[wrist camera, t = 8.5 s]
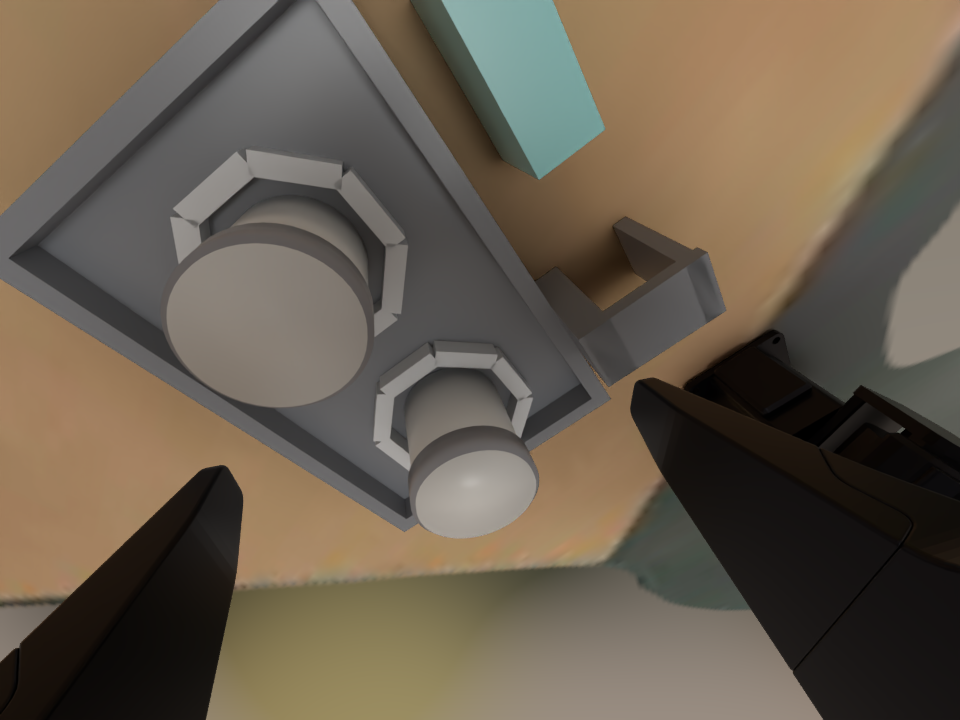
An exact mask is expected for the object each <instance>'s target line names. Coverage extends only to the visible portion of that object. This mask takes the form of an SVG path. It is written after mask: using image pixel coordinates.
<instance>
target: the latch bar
mask: <svg viewBox="0 0 960 720" xmlns="http://www.w3.org/2000/svg"><path fill="white" fill-rule="evenodd" d="M410 1H411V3H412V4H413V6H414V8H415V10H416V11H417V13H418V15H419V16H420V18H421V20H422V22H423V23H424V25H425V27H426V29H427V30H428V32H429V34H430V35H431V37H432V39H433V41H434V42H435V44H436V46H437V47H438V49H439V51H440V53H441V54H442V56H443V58H444V60H445V61H446V63H447V65H448V66H449V68H450V70H451V72H452V73H453V75H454V77H455V78H456V80H457V82H458V84H459V85H460V87H461V89H462V91H463V92H464V94H465V96H466V97H467V99H468V101H469V103H470V104H471V106H472V108H473V109H474V111H475V113H476V115H477V116H478V118H479V120H480V122H481V123H482V125H483V127H484V128H485V130H486V132H487V134H488V135H489V137H490V139H491V141H492V142H493V144H494V146H495V147H496V149H497V151H498V153H499V154H500V156H501V158H502V159H503V161H505V162H507V163H509V164H511V165H512V166H514V167H516V168H518V169H520V170H522V171H524V172H525V173H527V174H529V175H531V176H533V177H535V178H536V179H538V180H540V179H541V178H542V177H544V176H545V175H546V174H548V173H549V172H550V171H551V170H553V169H554V168H555V167H557V166H558V165H559V164H561V163H562V162H563V161H565V160H566V159H567V158H569V157H570V156H571V155H572V154H574V153H575V152H576V151H578V150H579V149H580V148H582V147H583V146H584V145H586V144H587V143H588V142H589V141H591V140H592V139H593V138H595V137H596V136H597V135H599V134H600V133H601V132H603V131H604V130H605V127H604V124H603V122H602V119H601V117H600V115H599V112H598V110H597V107H596V105H595V102H594V100H593V98H592V95H591V93H590V90H589V88H588V85H587V83H586V81H585V78H584V76H583V73H582V71H581V68H580V66H579V64H578V61H577V59H576V56H575V54H574V51H573V49H572V47H571V44H570V42H569V39H568V37H567V34H566V32H565V29H564V27H563V25H562V22H561V20H560V17H559V15H558V12H557V10H556V8H555V5H554V3H553V0H410Z"/></svg>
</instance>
